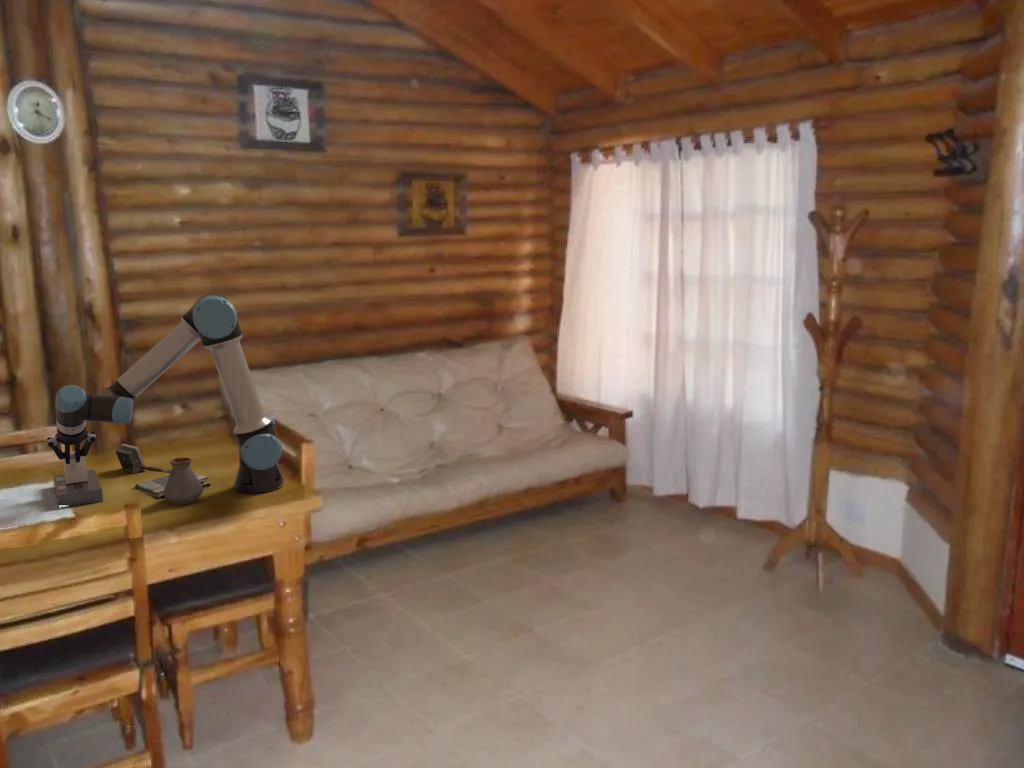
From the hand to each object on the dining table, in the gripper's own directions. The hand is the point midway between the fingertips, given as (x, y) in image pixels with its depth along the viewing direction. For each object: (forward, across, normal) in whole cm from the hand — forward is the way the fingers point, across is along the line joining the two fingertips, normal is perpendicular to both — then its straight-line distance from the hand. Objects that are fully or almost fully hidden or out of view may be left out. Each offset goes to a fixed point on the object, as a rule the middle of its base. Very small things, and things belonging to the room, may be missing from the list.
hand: (72, 466), depth 252 cm
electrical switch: (+22, +19, +8) cm, 30 cm away
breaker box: (+9, +1, -5) cm, 10 cm away
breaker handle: (+6, +1, -2) cm, 6 cm away
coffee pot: (-9, +24, -24) cm, 35 cm away
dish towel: (+4, +28, -11) cm, 30 cm away
